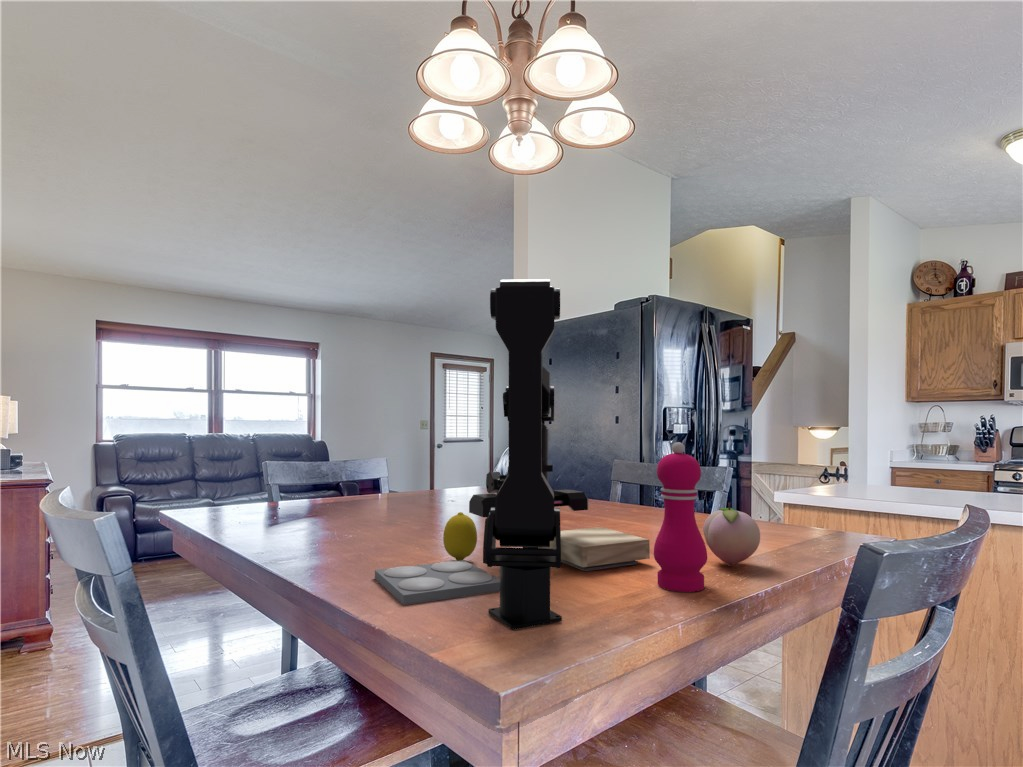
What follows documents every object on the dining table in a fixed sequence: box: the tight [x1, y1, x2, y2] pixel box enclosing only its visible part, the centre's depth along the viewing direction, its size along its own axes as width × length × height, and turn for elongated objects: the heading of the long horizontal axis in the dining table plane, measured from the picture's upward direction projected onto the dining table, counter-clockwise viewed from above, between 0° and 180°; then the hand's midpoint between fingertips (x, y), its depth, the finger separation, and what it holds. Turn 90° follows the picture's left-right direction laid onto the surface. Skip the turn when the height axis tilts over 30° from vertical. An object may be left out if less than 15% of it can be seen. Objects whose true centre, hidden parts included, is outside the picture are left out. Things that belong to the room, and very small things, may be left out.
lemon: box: [442, 511, 478, 561], centre depth 93 cm, size 6×6×8 cm
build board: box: [374, 559, 500, 606], centre depth 80 cm, size 14×14×1 cm
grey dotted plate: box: [561, 559, 639, 572], centre depth 94 cm, size 10×10×1 cm
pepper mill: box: [653, 441, 708, 593], centre depth 80 cm, size 7×7×20 cm
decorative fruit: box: [702, 502, 761, 567], centre depth 92 cm, size 9×8×10 cm
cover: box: [539, 526, 651, 567], centre depth 95 cm, size 13×13×3 cm
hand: (530, 558), depth 89 cm, fingers closed
